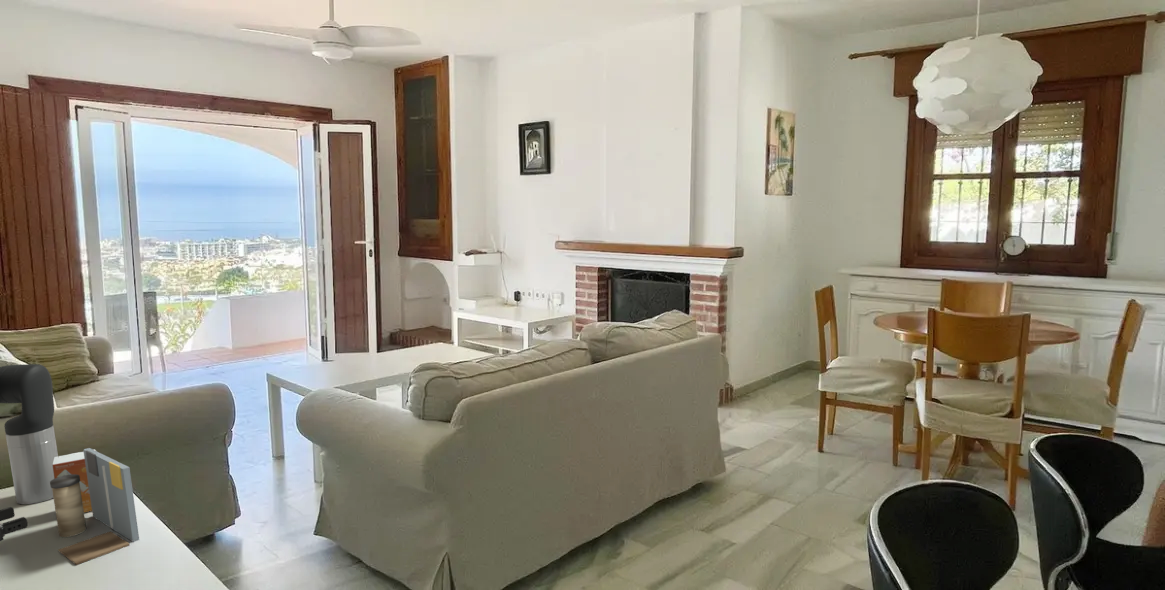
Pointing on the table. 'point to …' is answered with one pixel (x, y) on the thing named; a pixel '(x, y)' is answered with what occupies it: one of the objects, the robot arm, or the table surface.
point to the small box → (74, 466)
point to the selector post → (68, 505)
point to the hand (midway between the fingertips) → (19, 516)
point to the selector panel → (111, 493)
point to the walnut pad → (93, 547)
